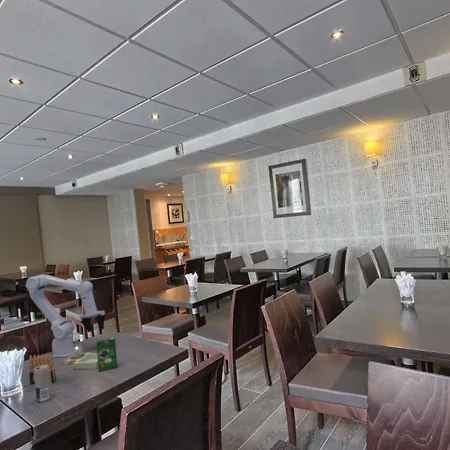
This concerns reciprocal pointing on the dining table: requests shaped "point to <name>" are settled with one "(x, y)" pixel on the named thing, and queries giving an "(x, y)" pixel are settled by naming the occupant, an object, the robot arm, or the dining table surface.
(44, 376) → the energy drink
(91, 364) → the tray
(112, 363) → the coffee box
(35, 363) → the ammunition clip
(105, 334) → the dining table surface
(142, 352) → the dining table surface
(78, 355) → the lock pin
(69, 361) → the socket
